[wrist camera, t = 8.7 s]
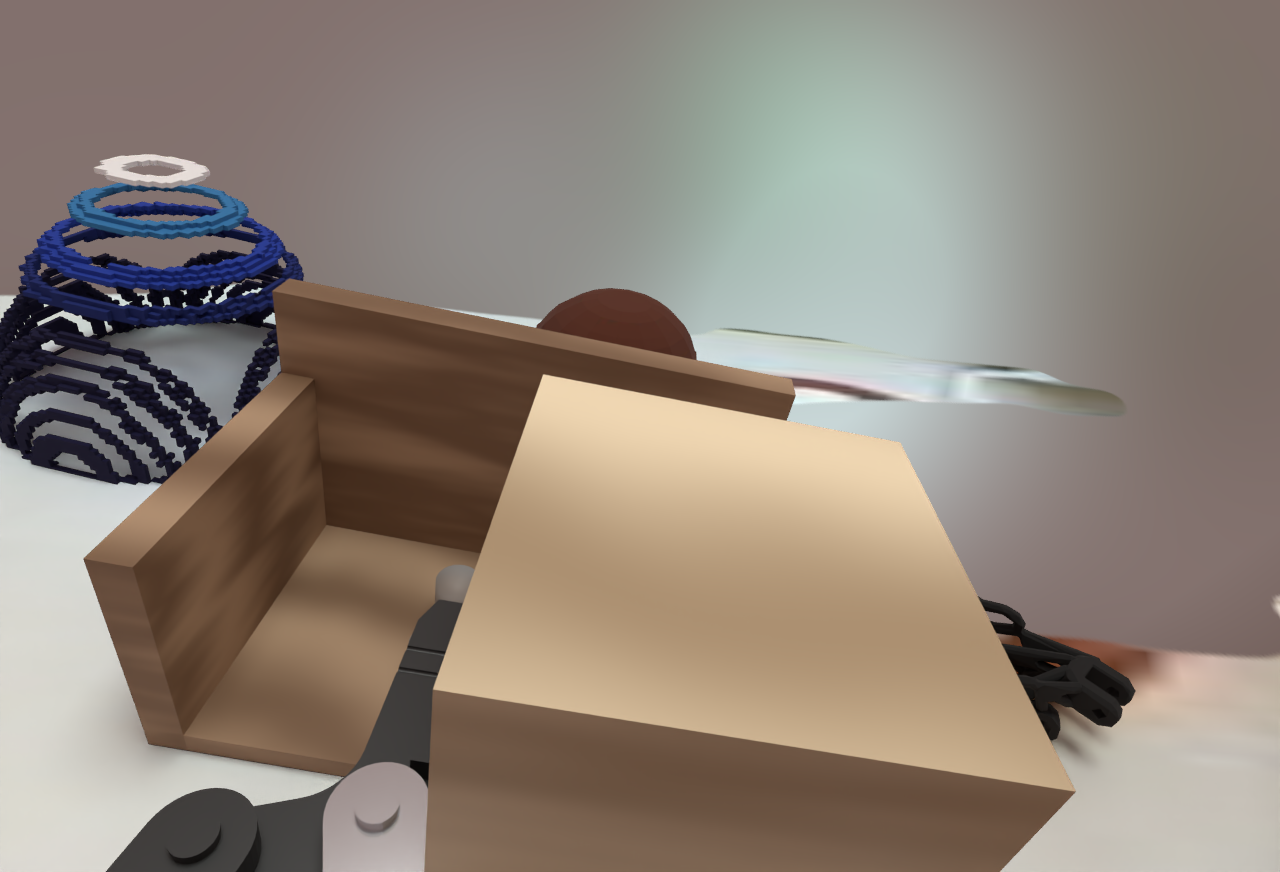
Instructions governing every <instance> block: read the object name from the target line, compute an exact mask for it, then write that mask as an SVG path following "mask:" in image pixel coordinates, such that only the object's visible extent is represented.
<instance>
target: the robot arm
mask: <svg viewBox="0 0 1280 872" xmlns="http://www.w3.org/2000/svg"><path fill="white" fill-rule="evenodd" d="M462 605H463V603H458V602H452V601H446V600H440V599H439V600H438V601H437V602H436V603H435V604H434V605H433V606H432V607H431V608H430V609H429V610H428V611H427V612H426V613H424V614H423V615H422V616H421V617H420V618H419V619H418V621H417V624H416V626H415V628H414V631H413V633H412V636H411V638H410V641H409V643H408V646H407V650H406V651H405V653H404V655H403V658H402V660H401V662H400V665H399V669H398V672H396V675H395V677H394V679H393V682H392V684H391V687H390V689H389V692H388V694H387V696H386V699H385V701H384V704H383V706H382V709H381V711H380V714H379V716H378V718H377V721H376V723H375V726H374V728H373V731H372V733H371V735H370V738H369V740H368V743H367V745H366V748H365V750H364V752H363V754H362V756H361V758H360V759H359V761H358V762H357V764H356V765H355V767H354V768H353V769H352V770H351V771H350V772H349V773H348V774H347V775H346V776H345V777H344V778H342V779H341V780H340V781H339V782H337V783H336V784H334V785H333V786H331V787H329V788H327V789H325V790H324V791H322V792H319V793H317V794H314V795H311V796H307V797H303V798H299V799H293V800H287V801H282V802H276V803H270V804H265V805H259V806H253V805H252V804H251V803H250V801H249V800H248V799H247V798H246V797H245V796H243V795H242V794H240V793H238V792H236V791H233V790H229V789H224V788H210V789H203V790H199V791H195V792H192V793H190V794H187V795H184V796H182V797H180V798H178V799H176V800H175V801H173V802H171V803H170V804H168V805H167V806H165V807H164V808H163V809H162V810H160V811H159V812H158V813H157V814H156V815H155V816H154V817H153V818H152V819H151V820H150V821H149V822H148V823H147V824H146V825H145V826H144V828H143V829H142V830H141V831H140V832H139V833H138V835H137V836H136V837H135V838H134V839H133V840H132V842H131V843H130V844H129V845H128V846H127V847H126V849H125V850H124V851H123V852H122V853H121V854H120V856H119V857H118V858H117V859H116V860H115V861H114V863H113V864H112V865H111V866H110V867H109V868H108V870H107V871H106V872H424V864H425V843H426V822H427V802H428V781H429V760H430V739H431V718H432V698H433V688H434V685H435V682H436V679H437V676H438V673H439V671H440V668H441V665H442V662H443V659H444V656H445V653H446V651H447V648H448V645H449V642H450V639H451V636H452V633H453V631H454V628H455V625H456V622H457V619H458V616H459V613H460V611H461V608H462Z"/></svg>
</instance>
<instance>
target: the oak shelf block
mask: <svg viewBox="0 0 1280 872" xmlns="http://www.w3.org/2000/svg"><path fill="white" fill-rule="evenodd" d="M1075 792H1076V791H1075V789H1074V787H1073V785H1072V783H1071V781H1070V779H1069V777H1068V775H1067V773H1066V771H1065V769H1064V767H1063V765H1062V763H1061V761H1060V759H1059V757H1058V755H1057V753H1056V751H1055V749H1054V747H1053V745H1052V743H1051V741H1050V739H1049V737H1048V735H1047V733H1046V731H1045V729H1044V727H1043V725H1042V723H1041V721H1040V719H1039V717H1038V715H1037V713H1036V711H1035V709H1034V707H1033V706H1032V704H1031V702H1030V700H1029V698H1028V696H1027V694H1026V692H1025V690H1024V688H1023V686H1022V684H1021V682H1020V680H1019V678H1018V676H1017V674H1016V672H1015V670H1014V668H1013V666H1012V664H1011V662H1010V660H1009V658H1008V656H1007V654H1006V652H1005V650H1004V648H1003V646H1002V644H1001V642H1000V640H999V638H998V636H997V634H996V632H995V630H994V628H993V626H992V624H991V622H990V620H989V618H988V616H987V614H986V612H985V610H984V608H983V606H982V604H981V602H980V600H979V598H978V596H977V594H976V592H975V590H974V588H973V586H972V584H971V582H970V580H969V578H968V576H967V574H966V572H965V570H964V568H963V566H962V564H961V562H960V560H959V558H958V556H957V554H956V553H955V550H954V548H953V546H952V544H951V542H950V540H949V538H948V537H947V534H946V532H945V531H944V529H943V527H942V525H941V523H940V521H939V519H938V517H937V515H936V513H935V511H934V509H933V507H932V505H931V503H930V501H929V499H928V497H927V495H926V493H925V491H924V489H923V487H922V485H921V483H920V481H919V479H918V477H917V475H916V473H915V471H914V469H913V467H912V465H911V463H910V461H909V459H908V457H907V455H906V453H905V451H904V449H903V447H902V445H901V443H900V442H895V441H890V440H884V439H879V438H874V437H869V436H863V435H858V434H853V433H848V432H842V431H837V430H832V429H827V428H821V427H816V426H811V425H806V424H800V423H795V422H790V421H785V420H780V419H774V418H769V417H764V416H759V415H753V414H748V413H743V412H738V411H732V410H727V409H722V408H717V407H711V406H706V405H701V404H696V403H691V402H685V401H680V400H675V399H670V398H664V397H659V396H654V395H649V394H643V393H638V392H633V391H628V390H622V389H617V388H612V387H607V386H601V385H596V384H591V383H586V382H581V381H575V380H570V379H565V378H560V377H554V376H549V375H544V374H543V377H542V379H541V382H540V385H539V388H538V391H537V394H536V397H535V399H534V402H533V405H532V408H531V411H530V414H529V417H528V419H527V422H526V425H525V428H524V431H523V434H522V437H521V439H520V442H519V445H518V448H517V451H516V454H515V457H514V459H513V462H512V465H511V468H510V471H509V474H508V477H507V479H506V482H505V485H504V488H503V491H502V494H501V496H500V499H499V502H498V505H497V508H496V511H495V514H494V516H493V519H492V522H491V525H490V528H489V531H488V534H487V536H486V539H485V542H484V545H483V548H482V551H481V554H480V556H479V559H478V562H477V565H476V568H475V571H474V574H473V576H472V579H471V582H470V585H469V588H468V591H467V593H466V596H465V599H464V602H463V605H462V608H461V611H460V613H459V616H458V619H457V622H456V625H455V628H454V631H453V633H452V636H451V639H450V642H449V645H448V648H447V651H446V653H445V656H444V659H443V662H442V665H441V668H440V671H439V673H438V676H437V679H436V682H435V685H434V688H433V698H432V718H431V739H430V760H429V781H428V802H427V822H426V843H425V864H424V872H1000V871H1001V870H1002V869H1003V868H1004V867H1005V866H1006V864H1007V863H1008V862H1009V861H1010V860H1011V859H1012V858H1013V857H1014V856H1015V855H1016V854H1017V853H1018V852H1019V851H1020V850H1021V849H1022V848H1023V847H1024V846H1025V845H1026V843H1027V842H1028V841H1029V840H1030V839H1031V838H1032V837H1033V836H1034V835H1035V834H1036V833H1037V832H1038V831H1039V830H1040V829H1041V828H1042V827H1043V826H1044V825H1045V824H1046V822H1047V821H1048V820H1049V819H1050V818H1051V817H1052V816H1053V815H1054V814H1055V813H1056V812H1057V811H1058V810H1059V809H1060V808H1061V807H1062V806H1063V805H1064V804H1065V803H1066V801H1067V800H1068V799H1069V798H1070V797H1071V796H1072V795H1073V794H1074V793H1075Z"/></svg>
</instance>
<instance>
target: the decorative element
mask: <svg viewBox="0 0 1280 872" xmlns="http://www.w3.org/2000/svg"><path fill="white" fill-rule="evenodd" d="M978 598H979V600H980V602H981V604H982V606H983V608H984V610H985V611H989V612H993V613H998V614H1003V615H1004V616H1006V617H1007V618H1009V619H1010V620H1011V621H1013V624H1007V623H997V622H992V621H990V622H991V624H992V626H993V628H994V630H995V632H996V633H998V634H1006V635H1013V636H1018V637H1019V638H1020V641H1021V644H1022V646H1023V647H1021V646H1014V645H1008V644H1002V643H1001V644H1002V646H1003V648H1004V650H1005V652H1006V654H1007V656H1008V658H1009V660H1010V662H1011V664H1012V666H1013V668H1014V669H1015V670H1016V671H1017V672H1019V673H1018V674H1017V676H1018V678H1019V680H1020V682H1021V684H1022V686H1023V688H1024V690H1025V692H1026V694H1027V696H1028V698H1029V700H1030V702H1031V704H1032V706H1033V707H1034V709H1035V711H1036V713H1037V715H1038V717H1039V719H1040V721H1041V723H1042V725H1043V727H1044V729H1045V731H1046V733H1047V735H1048V737H1049V739H1050V740H1054V739H1057V736H1058V733H1059V731H1060V718H1059V714H1058V711H1057V710H1056V709H1055V708H1054V707H1053V706H1052V705H1051V704H1048V702H1056V703H1058V704H1061V705H1063V706H1065V707H1072V708H1073V709H1075V710H1076V711H1078V712H1079V713H1081V714H1082V715H1084V716H1085V717H1087V718H1088V719H1090V720H1091V721H1093V722H1094V723H1096V724H1097V725H1101V726H1108V727H1112V726H1113V725H1115V724H1116V723H1117V722H1118V721H1119V720H1120V718H1121V716H1122V710H1123V709H1122V708H1121V706H1125V705H1126V704H1128V703H1129V702H1130V701H1131V700H1132V698H1133V695H1134V693H1135V689H1134V687H1133V686H1132V684H1131V682H1130V680H1129V679H1128V678H1127V677H1125V676H1123V675H1122V674H1120V673H1119V672H1117V671H1116V670H1114V669H1112V668H1111V667H1109V666H1108V665H1106V664H1104V663H1103V662H1101V661H1100V659H1099V658H1097V657H1095V656H1092V655H1089V654H1087V653H1084V652H1082V651H1079V650H1076V649H1074V648H1071V647H1069V646H1066V645H1063V644H1061V643H1058V642H1055V641H1053V640H1050V639H1048V638H1045V637H1042V636H1040V635H1037V634H1035V633H1032V632H1030V631H1028V630H1026V629H1024V627H1025V622H1024V620H1023V619H1022V617H1021V615H1020V613H1018V612H1016V611H1015V610H1013V609H1012V608H1010V607H1008V606H1007V605H1004V604H1000V603H996V602H992V601H987V600H983V599H981V598H980V597H978ZM1047 662H1051V663H1057V664H1059V665H1061V666H1060V667H1056V666H1053V665H1051V664H1049V663H1047ZM1033 698H1035V700H1031V699H1033ZM1120 705H1121V706H1120Z"/></svg>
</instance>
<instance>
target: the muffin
mask: <svg viewBox="0 0 1280 872" xmlns="http://www.w3.org/2000/svg"><path fill="white" fill-rule="evenodd" d="M536 328H538V329H543V330H548V331H553V332H558V333H563V334H568V335H573V336H578V337H583V338H588V339H593V340H598V341H603V342H608V343H613V344H618V345H623V346H628V347H633V348H638V349H643V350H648V351H653V352H658V353H663V354H668V355H673V356H678V357H683V358H688V359H693V360H696V352H695V350H694V347H693V343H692V340H691V336H690V334H689V333H688V331H687V329H686V327H685V326H684V324H683V323H682V322H681V321H680V320H679V319H678V318H677V317H676V316H675V315H674V313H672V311H671V310H669V309H668V308H667V307H666V306H664V305H663V304H662V303H660V302H659V301H657V300H655V299H653V298H651V297H649V296H647V295H645V294H642V293H638V292H634V291H630V290H624V289H613V288H608V289H598V290H592V291H589V292H586V293H582V294H580V295H578V296H576V297H574V298H571V299H569V300H567V301H565V302H563V303H561V304H559V305H558V306H556V307H555V308H554V309H553V310H552V311H550V312H549V313H548V315H547V316H546V317H545V318H544V319H543V320H542V321H541V322H540V323H539V324H538V325H537V327H536Z"/></svg>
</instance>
